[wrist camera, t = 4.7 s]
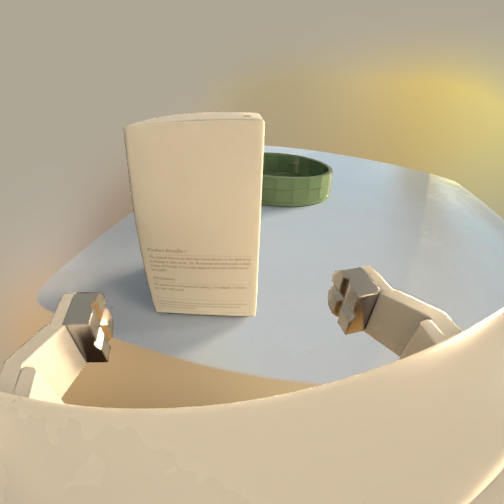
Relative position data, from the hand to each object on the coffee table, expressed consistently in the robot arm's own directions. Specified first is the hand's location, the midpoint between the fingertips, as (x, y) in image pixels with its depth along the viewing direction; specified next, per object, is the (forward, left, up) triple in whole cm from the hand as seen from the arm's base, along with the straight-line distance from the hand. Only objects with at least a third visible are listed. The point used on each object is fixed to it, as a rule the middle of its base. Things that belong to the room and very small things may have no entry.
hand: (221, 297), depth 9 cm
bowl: (+6, +35, -7) cm, 36 cm away
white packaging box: (-2, +10, -7) cm, 13 cm away
